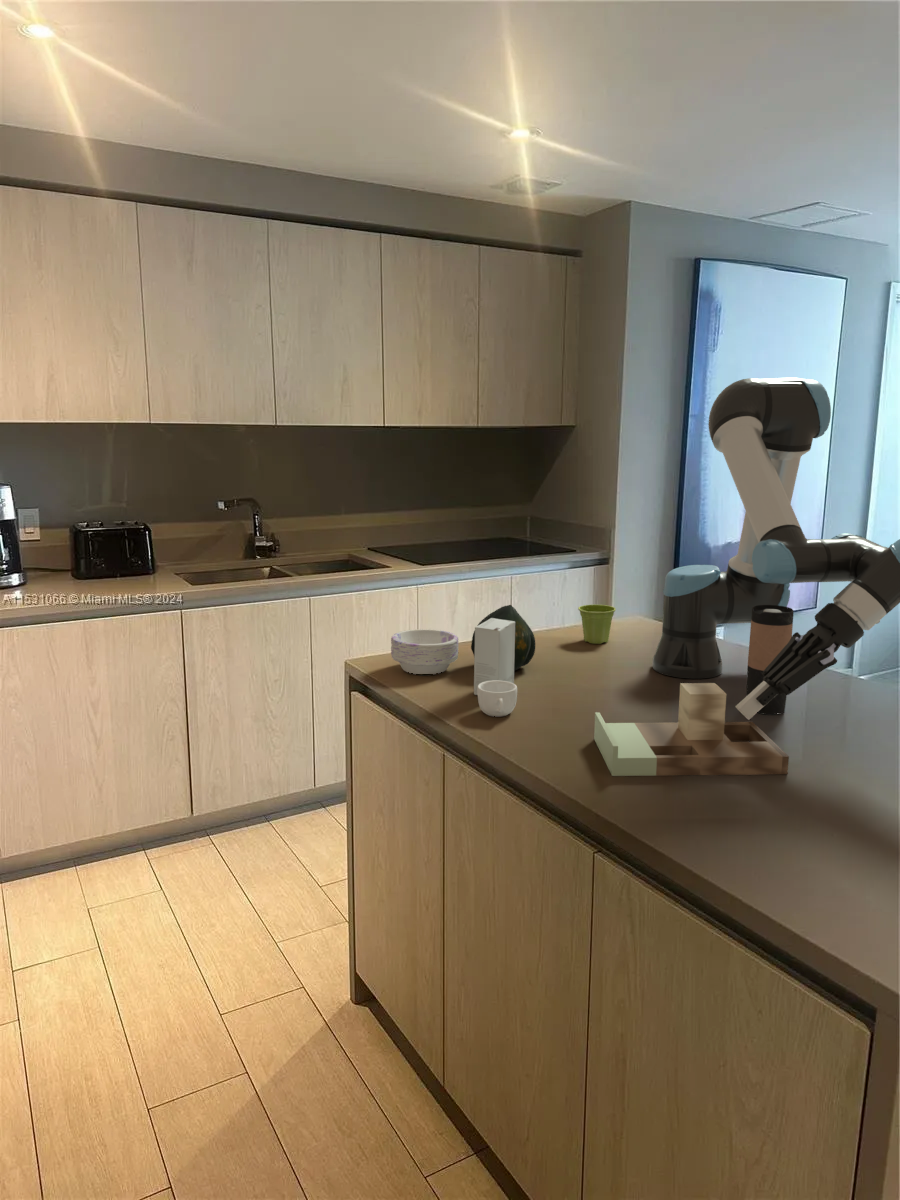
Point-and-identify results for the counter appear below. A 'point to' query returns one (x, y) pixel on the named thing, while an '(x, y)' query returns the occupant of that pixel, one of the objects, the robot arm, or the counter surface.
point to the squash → (522, 635)
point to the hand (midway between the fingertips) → (741, 713)
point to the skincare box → (494, 651)
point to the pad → (624, 748)
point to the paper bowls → (424, 650)
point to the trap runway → (714, 751)
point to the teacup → (497, 697)
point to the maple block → (702, 711)
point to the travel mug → (767, 647)
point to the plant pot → (596, 622)
